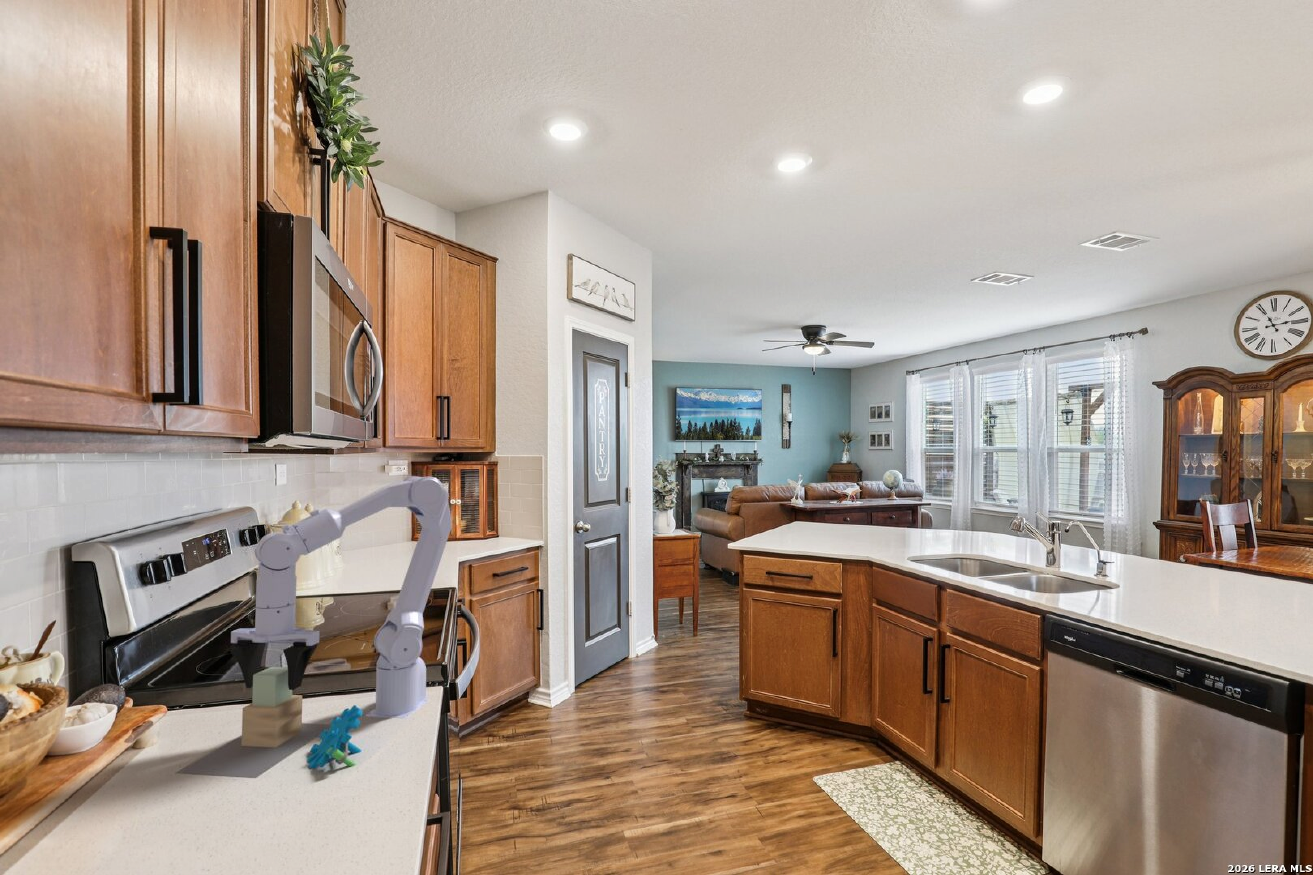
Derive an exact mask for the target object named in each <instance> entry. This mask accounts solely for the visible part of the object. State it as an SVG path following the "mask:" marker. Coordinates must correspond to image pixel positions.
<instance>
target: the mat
mask: <svg viewBox="0 0 1313 875" xmlns="http://www.w3.org/2000/svg"><path fill="white" fill-rule="evenodd" d="M330 726H331V723H328V724H327V723H326V724H325V723H308V722H307V723H305V722H302V731H301V732H299V733H298V734H296V735H295V736H293V737H292V738H290V739H288V740H287V741H285V742H284V743H282V744H281V745H279V746H277V747H276V748H275V747H257V746H241V745H242V734H241V735H239V736H237V737H236V738H234V739H232V740H231V741H228V742H227V743H226V744H223V745H221V746H220V747H218V748H216V749H215V750H213V751H211V752H209V753H208V754H205V755H204V756H202V757H200V758H199V759H197V760H195V761H193V762H191V763H189V764H188V765H186V766H185V767H183V768H181V769H178V770H177V771H175V772H174V773H175V774H180V775H181V774H182V775H183V774H184V775H198V776H199V775H201V776H218V777H232V778H233V777H234V778H235V777H236V778H249V779H251V778H252V779H253V778H254V779H256V778H259V776H261V775H262V774H264V773H265V772H267V771H268V770H270V769H272V768H273V767H275V766H276V765H277V764H279V763H281V762H282V761H283V760H285V759H287V757H290V756H291V755H292V754H294V753H295V752H297V751H298V750H300V749H301V748H303V747H305V746H306V745H307V744H309V743H310V742H312V741H313V740H314V739H317V738H319V735H320V734H321V733H322V732H323V731H324V730H327V731H329V729H330Z"/></svg>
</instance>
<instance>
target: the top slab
mask: <svg viewBox="0 0 1313 875" xmlns="http://www.w3.org/2000/svg"><path fill="white" fill-rule="evenodd" d="M300 714H302V715H303V695H298V694H297V695H296V694H292V698H291V699H289V700H287V701H285V702H283V703H281V704H279V705H277V706H276V707H265V706H252V702H251V703H250V704H247V705H246V706H244V707H242V717H241V718H242V721H241V723H242V724H241V728H242V727H256V728H278V727H280V726H281V725H283V724H285V723H287V722H288V721H290V720H292V719H293V718H295V717H297V716H298V715H300Z"/></svg>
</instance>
